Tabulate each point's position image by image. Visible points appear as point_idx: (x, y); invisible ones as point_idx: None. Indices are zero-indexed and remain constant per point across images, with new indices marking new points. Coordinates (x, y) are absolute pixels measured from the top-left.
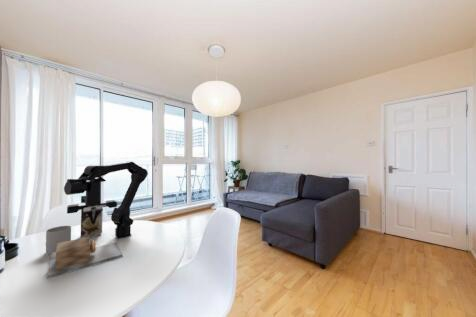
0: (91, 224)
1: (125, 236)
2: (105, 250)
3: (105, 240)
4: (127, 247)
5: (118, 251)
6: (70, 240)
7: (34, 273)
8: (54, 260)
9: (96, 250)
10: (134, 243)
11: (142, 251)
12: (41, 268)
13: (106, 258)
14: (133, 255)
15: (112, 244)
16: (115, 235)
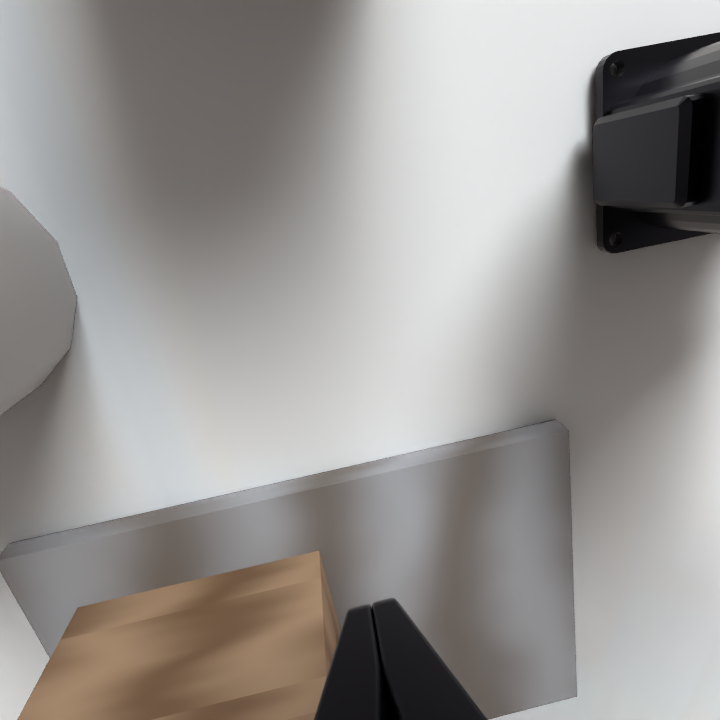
0: None
1: (693, 235)
2: (464, 585)
3: (458, 211)
4: (630, 536)
5: (558, 644)
6: (12, 330)
7: (7, 710)
8: (64, 624)
9: (390, 558)
10: (704, 473)
11: (699, 648)
12: (14, 656)
13: None
14: (631, 683)
15: (530, 473)
16: (597, 155)
